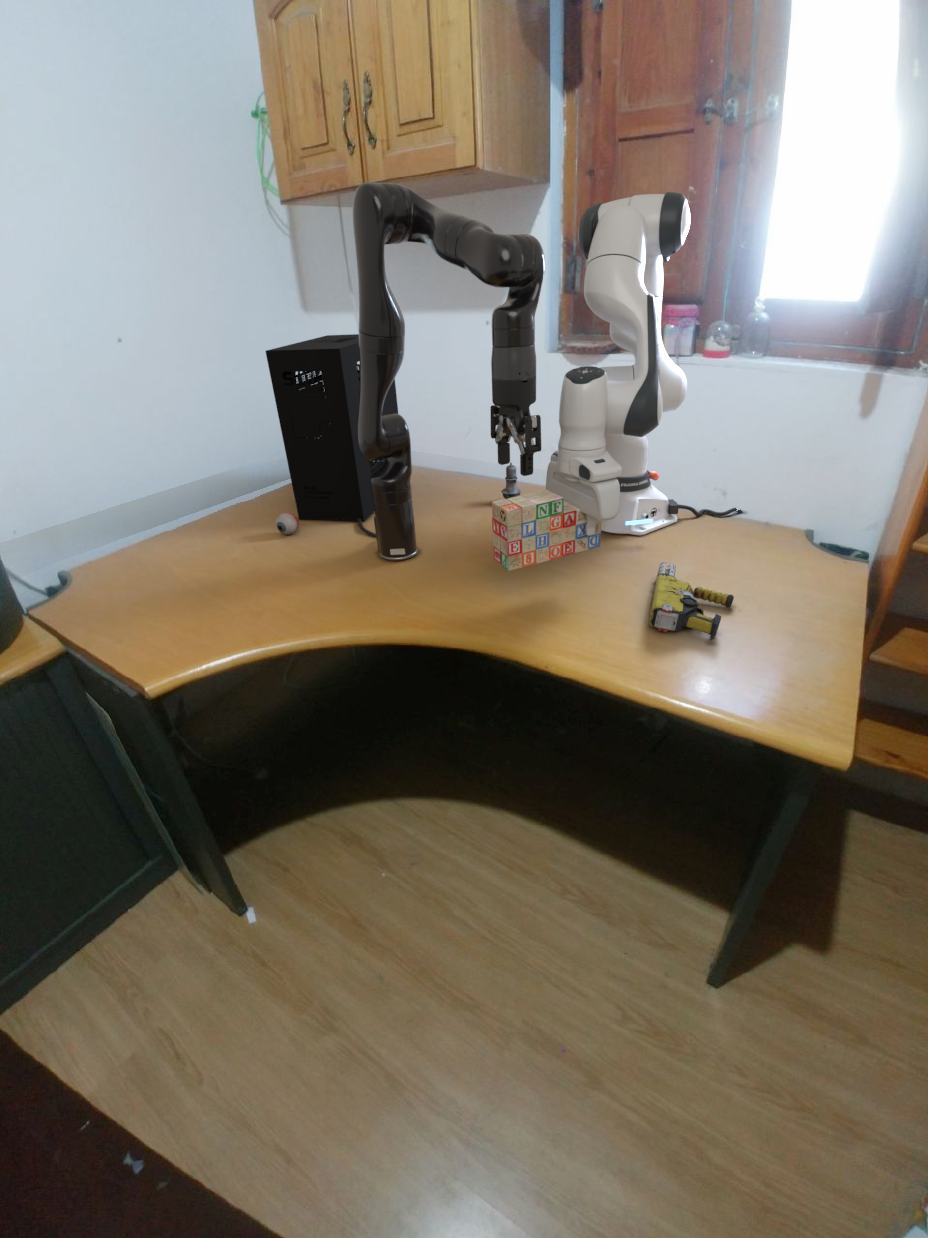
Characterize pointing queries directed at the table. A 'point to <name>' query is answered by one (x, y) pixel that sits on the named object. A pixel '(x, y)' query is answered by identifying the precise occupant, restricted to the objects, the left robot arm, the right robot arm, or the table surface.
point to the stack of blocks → (538, 529)
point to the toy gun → (683, 604)
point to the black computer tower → (324, 426)
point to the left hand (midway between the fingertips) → (515, 469)
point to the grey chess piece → (511, 483)
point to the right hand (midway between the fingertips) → (578, 528)
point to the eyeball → (287, 523)
